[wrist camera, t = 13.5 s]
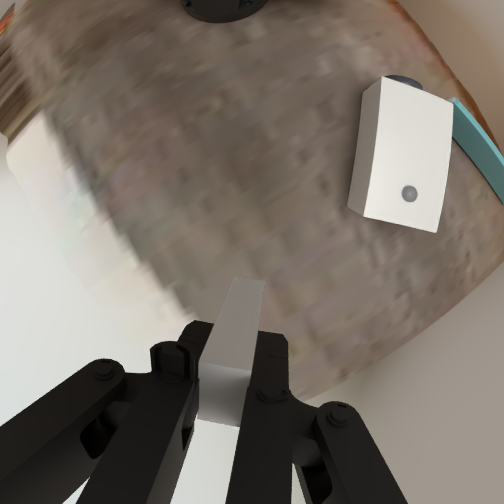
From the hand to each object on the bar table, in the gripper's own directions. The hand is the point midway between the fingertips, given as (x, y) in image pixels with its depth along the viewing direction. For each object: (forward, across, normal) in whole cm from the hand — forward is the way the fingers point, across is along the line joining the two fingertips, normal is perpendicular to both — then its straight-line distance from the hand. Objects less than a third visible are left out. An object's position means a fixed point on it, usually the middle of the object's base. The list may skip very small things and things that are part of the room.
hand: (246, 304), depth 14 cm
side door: (+29, +33, +17) cm, 47 cm away
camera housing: (+29, +17, +12) cm, 36 cm away
